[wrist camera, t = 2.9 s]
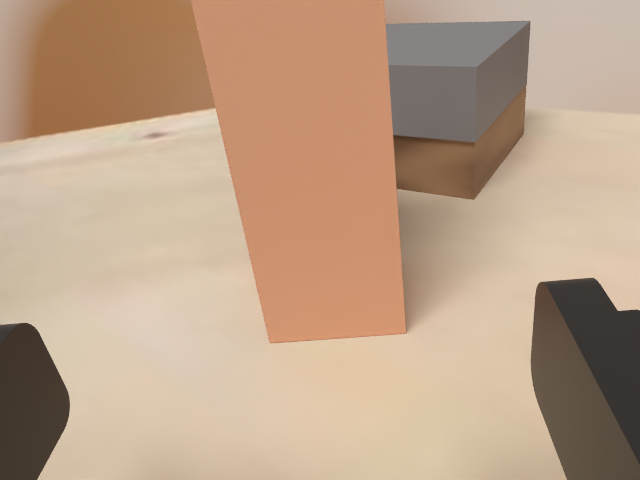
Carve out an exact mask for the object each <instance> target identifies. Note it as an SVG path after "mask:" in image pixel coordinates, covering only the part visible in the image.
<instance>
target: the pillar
mask: <svg viewBox="0 0 640 480" xmlns="http://www.w3.org/2000/svg"><path fill="white" fill-rule="evenodd" d="M191 2H192V7H193V11H194V16H195V20H196V24H197V29H198V33H199V37H200V41H201V46H202V51H203V55H204V59H205V63H206V68H207V72H208V77H209V81H210V85H211V90H212V94H213V98H214V102H215V107H216V111H217V116H218V120H219V124H220V129H221V133H222V138H223V142H224V146H225V151H226V155H227V159H228V164H229V168H230V172H231V177H232V181H233V185H234V190H235V194H236V198H237V203H238V207H239V211H240V216H241V220H242V225H243V229H244V233H245V238H246V242H247V246H248V251H249V255H250V259H251V264H252V268H253V272H254V277H255V281H256V285H257V290H258V294H259V298H260V303H261V307H262V312H263V316H264V320H265V325H266V329H267V333H268V338H269V342H270V343H279V342H293V341H307V340H321V339H335V338H349V337H362V336H376V335H390V334H404V333H406V322H405V307H404V292H403V277H402V262H401V247H400V232H399V217H398V202H397V187H396V172H395V157H394V142H393V127H392V112H391V97H390V83H389V68H388V53H387V38H386V23H385V10H384V9H385V8H384V0H191Z"/></svg>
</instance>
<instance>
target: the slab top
mask: <svg viewBox="0 0 640 480" xmlns="http://www.w3.org/2000/svg"><path fill="white" fill-rule="evenodd" d="M529 37H530V21H509V22H508V21H507V22H456V23H407V24H386V38H387V53H388V68H389V83H390V97H391V112H392V127H393V135H399V136H410V137H421V138H432V139H444V140H455V141H466V142H476V141H477V140H478V139H479V138H480V137H481V136H482V135H483V133H484V132H485V131H486V130H487V129H488V128H489V127H490V126H491V124H492V123H493V122H494V121H495V120H496V119H497V118H498V116H499V115H500V114H501V113H502V112H503V111H504V110H505V108H506V107H507V106H508V105H509V104H510V103H511V102H512V101H513V99H514V98H515V97H516V96H517V95H518V94H519V93H520V91H521V90H522V89H523V88H524V87H525V86H526V84H527V69H528V53H529Z"/></svg>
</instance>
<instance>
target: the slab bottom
mask: <svg viewBox="0 0 640 480" xmlns="http://www.w3.org/2000/svg"><path fill="white" fill-rule="evenodd" d="M525 97H526V86H525V87H524V88H523V89H522V90H521V91H520V93H519V94H518V95H517V96H516V97H515V98H514V99H513V101H512V102H511V103H510V104H509V105H508V106H507V107H506V108H505V110H504V111H503V112H502V113H501V114H500V115H499V116H498V118H497V119H496V120H495V121H494V122H493V123H492V124H491V126H490V127H489V128H488V129H487V130H486V131H485V132H484V133H483V135H482V136H481V137H480V138H479V139H478V140H477V141H476V142H466V141H455V140H444V139H432V138H421V137H410V136H399V135H393V142H394V157H395V172H396V187H397V189H403V190H410V191H417V192H424V193H431V194H438V195H445V196H452V197H459V198H466V199H473V200H474V199H475V197H476V196H477V195H478V193H479V192H480V191H481V189H482V188H483V187H484V185H485V184H486V183H487V182H488V180H489V179H490V178H491V176H492V175H493V174H494V172H495V171H496V170H497V168H498V167H499V166H500V164H501V163H502V162H503V160H504V159H505V158H506V156H507V155H508V154H509V153H510V151H511V150H512V149H513V147H514V146H515V145H516V143H517V142H518V141H519V139H520V138H521V137H522V135H523V132H524V115H525Z"/></svg>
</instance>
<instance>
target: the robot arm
mask: <svg viewBox="0 0 640 480" xmlns="http://www.w3.org/2000/svg"><path fill="white" fill-rule="evenodd" d="M531 373H532V381H533V386H534V391H535V395H536V398H537V401H538V404H539V407H540V410H541V412H542V415H543V417H544V420H545V423H546V425H547V428H548V431H549V433H550V436H551V438H552V441H553V444H554V446H555V449H556V452H557V454H558V457H559V459H560V462H561V465H562V467H563V470H564V473H565V475H566V478H567V480H640V311H639V310H626V311H617V309H616V308H615V306H614V304H613V303H612V301H611V300H610V298H609V297H608V295H607V294H606V292H605V291H604V289H603V288H602V286H601V285H600V284H599V282H598V281H597V280H596V279H594V278H584V279H572V280H560V281H548V282H540V283H539V284H538V286H537V289H536V295H535V309H534V323H533V337H532V351H531ZM69 410H70V401H69V395H68V391H67V389H66V387H65V384H64V382H63V380H62V378H61V376H60V374H59V372H58V370H57V368H56V366H55V364H54V362H53V360H52V358H51V356H50V354H49V352H48V350H47V348H46V346H45V344H44V342H43V340H42V338H41V336H40V334H39V332H38V331H37V329H36V328H35V327H34V326H32V325H31V324H28V323H18V324H6V325H0V480H37V479H38V477H39V475H40V473H41V471H42V470H43V468H44V466H45V464H46V462H47V460H48V459H49V457H50V455H51V453H52V451H53V449H54V447H55V446H56V444H57V442H58V440H59V438H60V436H61V435H62V433H63V431H64V429H65V427H66V424H67V421H68V417H69Z"/></svg>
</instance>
